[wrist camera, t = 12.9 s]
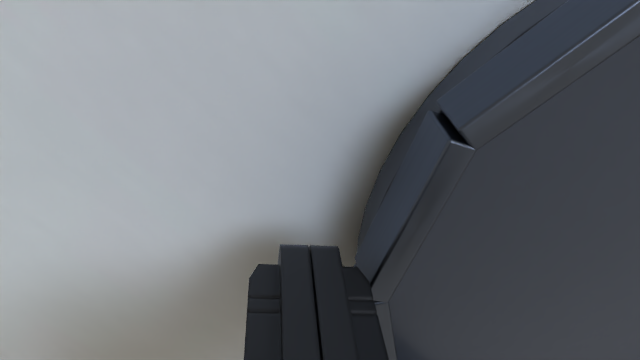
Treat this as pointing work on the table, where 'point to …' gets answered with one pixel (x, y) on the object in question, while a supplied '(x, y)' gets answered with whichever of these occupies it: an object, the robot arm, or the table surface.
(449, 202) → the plate
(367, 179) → the table surface
